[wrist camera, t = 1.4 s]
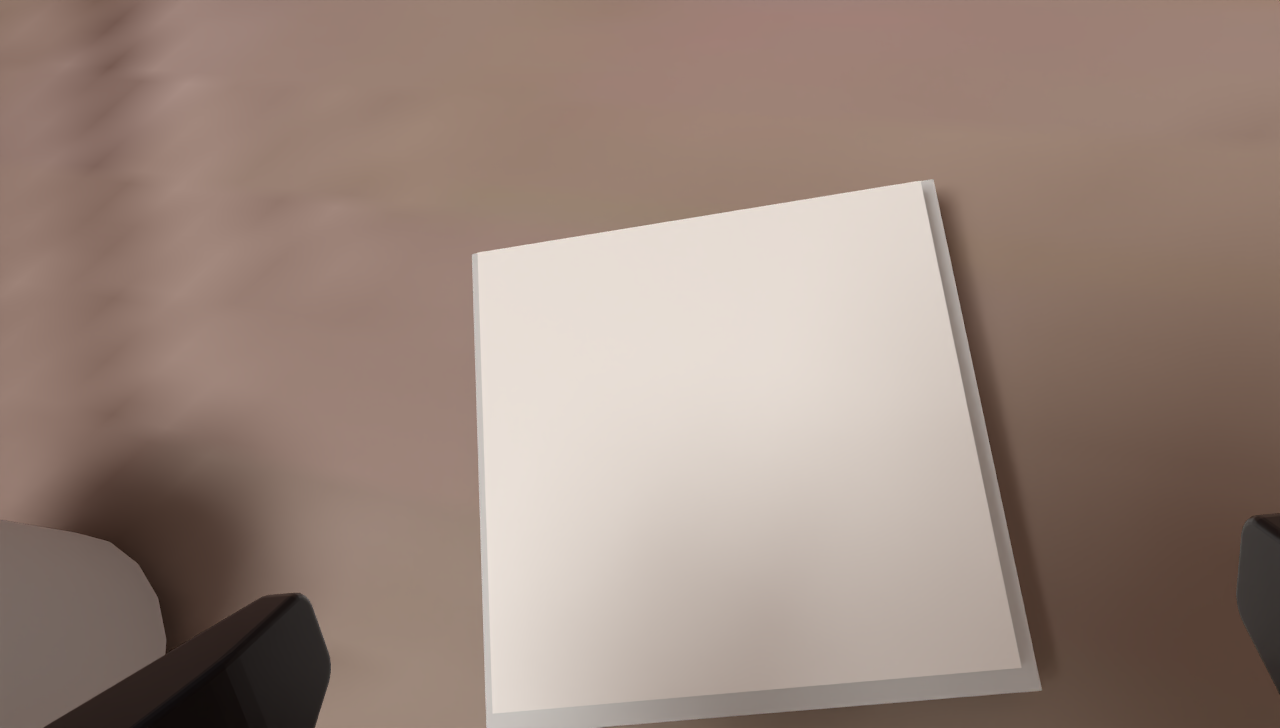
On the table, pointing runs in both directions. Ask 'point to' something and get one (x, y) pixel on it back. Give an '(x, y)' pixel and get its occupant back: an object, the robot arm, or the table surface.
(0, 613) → the can
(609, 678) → the stand
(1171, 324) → the table surface
